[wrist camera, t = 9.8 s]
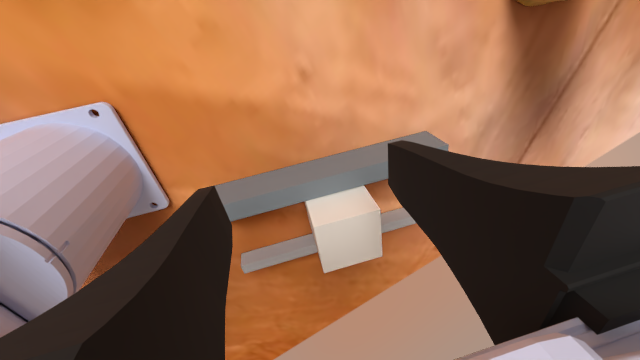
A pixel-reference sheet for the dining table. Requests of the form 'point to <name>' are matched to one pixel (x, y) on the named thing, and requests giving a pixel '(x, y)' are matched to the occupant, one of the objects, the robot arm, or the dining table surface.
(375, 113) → the dining table surface
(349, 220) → the cabinet block
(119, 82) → the dining table surface
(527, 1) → the vase
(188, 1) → the dining table surface
